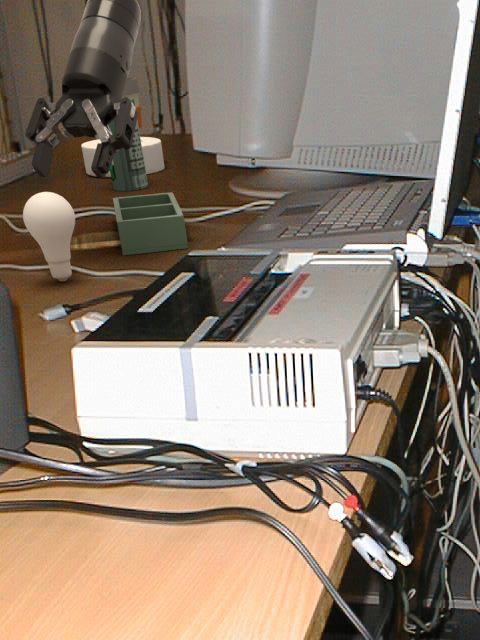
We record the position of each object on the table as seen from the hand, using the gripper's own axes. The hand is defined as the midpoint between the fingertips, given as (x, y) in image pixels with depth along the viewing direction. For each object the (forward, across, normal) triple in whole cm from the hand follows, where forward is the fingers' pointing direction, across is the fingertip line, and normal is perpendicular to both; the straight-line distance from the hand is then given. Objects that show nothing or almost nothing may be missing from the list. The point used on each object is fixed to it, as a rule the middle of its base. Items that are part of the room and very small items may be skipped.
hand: (68, 173), depth 115 cm
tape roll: (-39, -34, +56) cm, 76 cm away
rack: (-3, 0, +20) cm, 20 cm away
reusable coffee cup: (-54, -47, +71) cm, 101 cm away
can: (-28, -23, +45) cm, 58 cm away
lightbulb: (+13, 0, +5) cm, 14 cm away
